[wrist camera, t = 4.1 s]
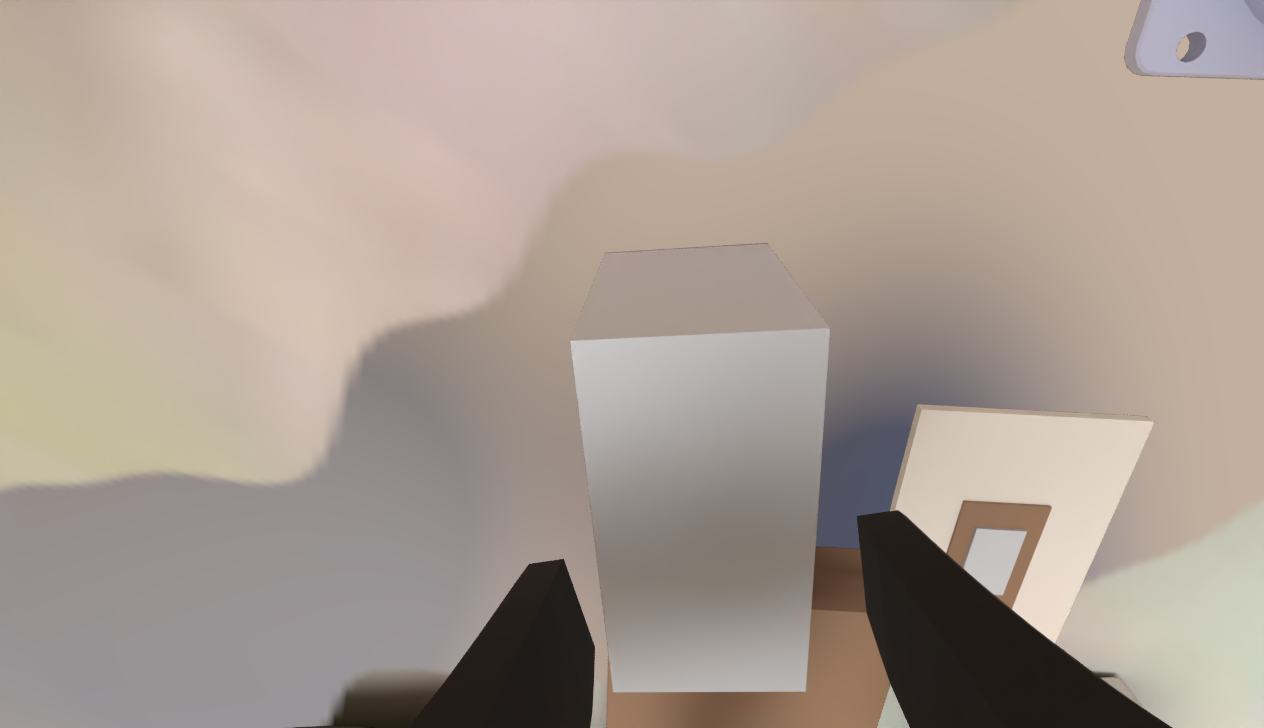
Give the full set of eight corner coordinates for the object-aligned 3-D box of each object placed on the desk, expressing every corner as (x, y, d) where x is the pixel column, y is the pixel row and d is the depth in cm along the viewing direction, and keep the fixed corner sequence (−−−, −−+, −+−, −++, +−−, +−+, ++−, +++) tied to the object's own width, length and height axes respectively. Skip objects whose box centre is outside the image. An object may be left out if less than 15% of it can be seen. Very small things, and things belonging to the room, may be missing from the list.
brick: (766, 242, 14) (830, 328, 9) (761, 508, 18) (805, 691, 12) (605, 252, 15) (570, 341, 9) (629, 512, 18) (613, 692, 12)
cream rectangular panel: (1146, 416, 16) (1160, 425, 15) (1049, 634, 19) (1059, 648, 18) (916, 404, 16) (924, 412, 15) (860, 622, 19) (865, 635, 19)
